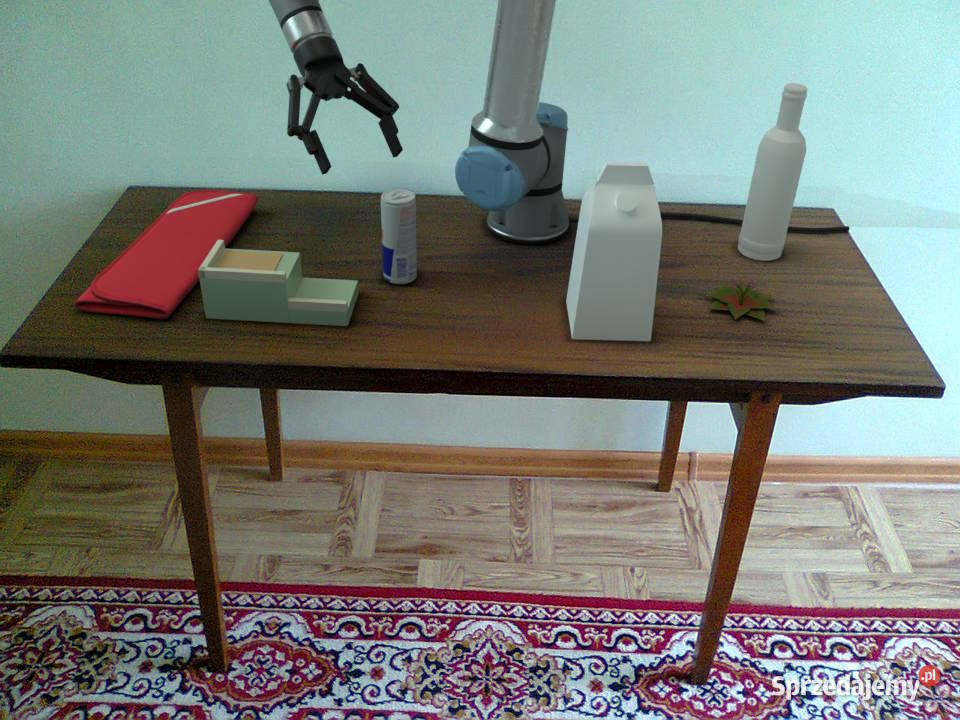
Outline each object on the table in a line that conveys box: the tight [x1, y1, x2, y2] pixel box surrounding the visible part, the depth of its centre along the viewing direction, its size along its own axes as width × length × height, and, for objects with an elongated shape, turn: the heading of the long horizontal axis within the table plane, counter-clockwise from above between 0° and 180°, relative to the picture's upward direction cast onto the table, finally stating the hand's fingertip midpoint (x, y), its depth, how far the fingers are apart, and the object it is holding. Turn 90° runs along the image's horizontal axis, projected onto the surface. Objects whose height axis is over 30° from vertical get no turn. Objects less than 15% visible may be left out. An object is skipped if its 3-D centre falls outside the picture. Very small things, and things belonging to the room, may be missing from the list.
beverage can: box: [380, 188, 418, 285], centre depth 149 cm, size 6×6×15 cm
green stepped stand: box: [198, 240, 360, 327], centre depth 142 cm, size 22×10×8 cm, turn 87°
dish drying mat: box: [74, 189, 259, 320], centre depth 156 cm, size 16×41×4 cm, turn 172°
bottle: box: [737, 82, 808, 262], centre depth 157 cm, size 8×8×30 cm
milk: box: [565, 160, 663, 342], centre depth 137 cm, size 12×12×26 cm
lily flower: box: [705, 276, 778, 322], centre depth 148 cm, size 12×12×5 cm
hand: (363, 162), depth 151 cm, fingers open, 13 cm apart
